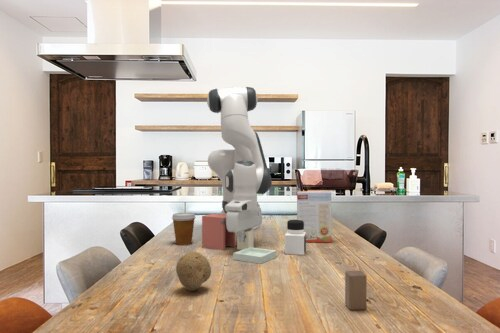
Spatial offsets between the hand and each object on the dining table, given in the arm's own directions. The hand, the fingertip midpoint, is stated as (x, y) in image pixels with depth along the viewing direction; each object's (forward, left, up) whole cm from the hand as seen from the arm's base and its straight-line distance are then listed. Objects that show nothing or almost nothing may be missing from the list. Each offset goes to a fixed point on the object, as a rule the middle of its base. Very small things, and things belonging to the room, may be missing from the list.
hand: (245, 240), depth 154 cm
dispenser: (0, -12, -4) cm, 13 cm away
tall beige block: (0, 0, -3) cm, 3 cm away
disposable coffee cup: (+2, -28, -4) cm, 29 cm away
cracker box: (-29, +16, -4) cm, 33 cm away
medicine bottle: (-6, +18, -4) cm, 19 cm away
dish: (+9, +9, -4) cm, 13 cm away
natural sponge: (+47, +13, -4) cm, 49 cm away
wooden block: (+38, +53, -4) cm, 65 cm away
